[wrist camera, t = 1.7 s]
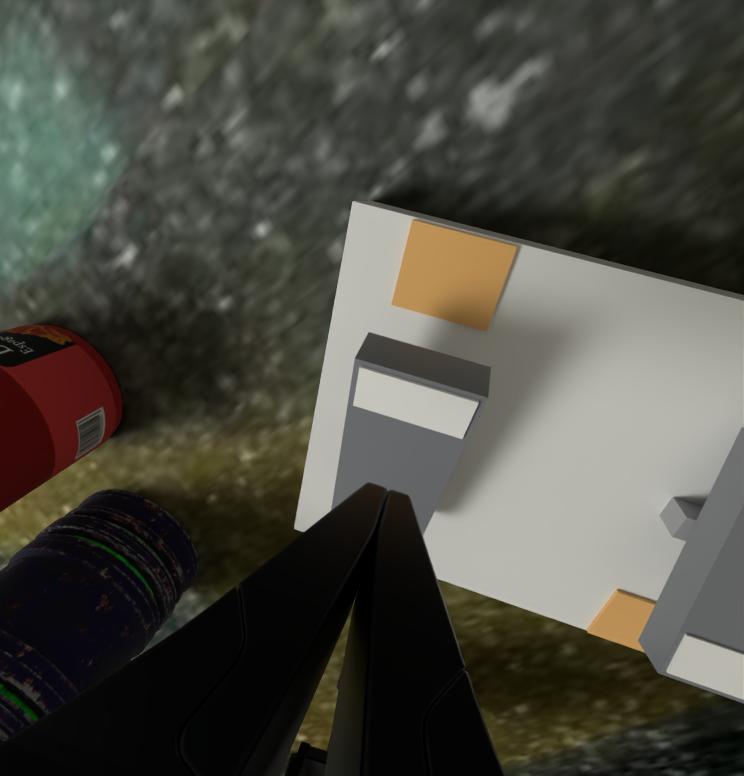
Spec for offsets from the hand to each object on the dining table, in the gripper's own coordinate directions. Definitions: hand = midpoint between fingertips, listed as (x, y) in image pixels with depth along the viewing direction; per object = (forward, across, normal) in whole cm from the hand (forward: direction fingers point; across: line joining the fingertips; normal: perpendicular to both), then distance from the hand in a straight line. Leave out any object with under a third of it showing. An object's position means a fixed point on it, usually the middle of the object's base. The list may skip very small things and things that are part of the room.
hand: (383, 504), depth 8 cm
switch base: (+12, -6, +4) cm, 14 cm away
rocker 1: (+7, 0, +4) cm, 8 cm away
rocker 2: (+7, -13, +4) cm, 15 cm away
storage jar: (+12, +16, +22) cm, 29 cm away
